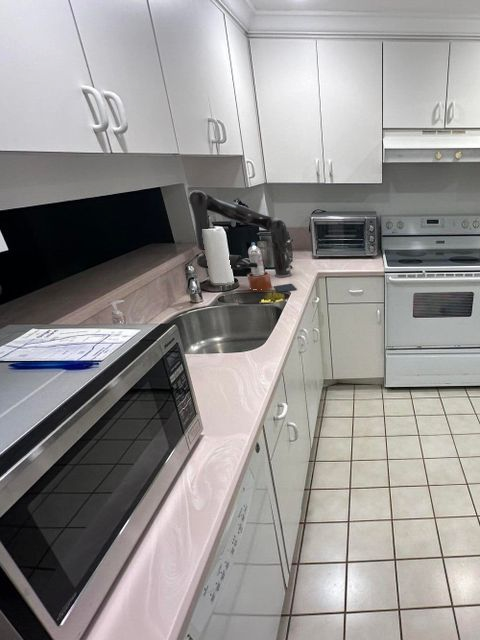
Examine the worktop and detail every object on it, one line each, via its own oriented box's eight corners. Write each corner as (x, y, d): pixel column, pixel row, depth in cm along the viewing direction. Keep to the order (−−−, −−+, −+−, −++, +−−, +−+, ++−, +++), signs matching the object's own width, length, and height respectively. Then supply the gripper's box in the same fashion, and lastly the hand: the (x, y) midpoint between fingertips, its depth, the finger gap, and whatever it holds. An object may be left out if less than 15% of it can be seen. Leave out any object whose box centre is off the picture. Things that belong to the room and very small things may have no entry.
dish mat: (273, 287, 216) (273, 286, 215) (291, 284, 220) (291, 283, 219) (278, 292, 207) (278, 291, 207) (296, 289, 211) (296, 288, 211)
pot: (248, 287, 216) (246, 273, 212) (268, 284, 220) (266, 270, 217) (252, 292, 207) (250, 278, 203) (273, 289, 212) (271, 275, 208)
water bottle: (258, 291, 210) (251, 244, 197) (251, 288, 213) (243, 242, 201) (269, 288, 214) (262, 242, 202) (262, 285, 218) (255, 240, 206)
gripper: (224, 258, 202) (252, 260, 199) (238, 252, 214) (265, 253, 211) (226, 272, 205) (255, 274, 202) (240, 265, 218) (267, 267, 215)
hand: (260, 263), depth 207 cm, fingers closed on water bottle, 6 cm apart
